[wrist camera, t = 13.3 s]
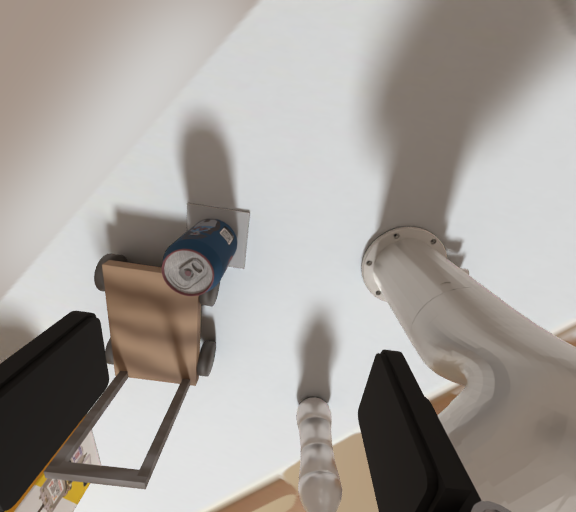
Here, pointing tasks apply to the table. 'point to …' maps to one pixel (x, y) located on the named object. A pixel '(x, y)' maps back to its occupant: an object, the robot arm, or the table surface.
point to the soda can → (199, 257)
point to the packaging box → (59, 484)
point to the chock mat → (230, 217)
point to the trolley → (141, 358)
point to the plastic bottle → (317, 458)
